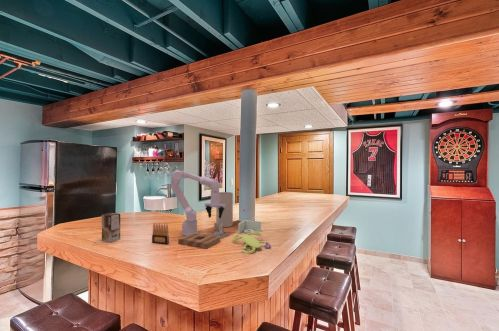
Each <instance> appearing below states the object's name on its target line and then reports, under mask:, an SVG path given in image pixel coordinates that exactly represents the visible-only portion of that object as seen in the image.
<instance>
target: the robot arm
mask: <svg viewBox="0 0 499 331" xmlns="http://www.w3.org/2000/svg"><path fill="white" fill-rule="evenodd" d="M170 178H171V179H170V180H171V181H170V188H171V190H172V191H173V194H174V195H175V197H176V198H177V201H178V202H179V204H180V206H181V208H182V209H183V211H184V213H185V215H186V220H185V219H184V221H183V222H182V223H181V224H182V225H181V226H182V227H181V233H180V234H181V236H187V235H189V234H192V233H198V234H201V233H200V232H198V219H197V212H196V211H195V210H194V209H193V208H192V206H191V205H190V203H189V202H188V200H187V198H186V196H185V195H184V192H183V191H182V189H181V187H180V182H181V180H182V179H190V180H194V181H197V182H199V184H200V185H202V186H206V187H208V188H209V187H210V203H205V204H204V207H205V210H206V212H207V215H208V218H209V219H210V218H211V217H212V209H213V208H216V207H220V208H218V209H219V218H221V216H222V213H223V210H224V208H225V204H219V192H220V186H221V184H220V182H219V181H218V180H217V179H215V178H211V177H208V175H205V176H204V175H202V176H199V175H196V174H193V173H190V172H188V171H184V170H183V171H182V170H180V169H177V170H175V171H173V173H172V175H171V177H170Z"/></svg>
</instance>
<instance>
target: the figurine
mask: <svg viewBox="0 0 499 331" xmlns="http://www.w3.org/2000/svg"><path fill="white" fill-rule="evenodd" d="M252 235H254V236H257V237H258V236H259V237H260V236H262V231H261V232H258V231H254V232H251V233H248V234H242V235H240V236H239V234H236V235H234V237H233V238H232V239H231V242H237V241H238V240H240V239H241V240H242V241H243V242H244V243H245V244H244V245H243V247H241V252H242V253H243V254H245V255H250V254H252V253H254V252H255V251H256V249H258V250H259V249H260V248H261V246H262V245H261V244H265V245H264V247H265V248H267V249H269V248H270V247H271V246H272V245H271V244H270V243H269V242H267V241H264V240H263V241H261V240H260V241H259V240H258V239H257V238H256V237H254V236H252ZM247 246H249V247H247ZM249 249H251V250H250V251H245V250H249Z"/></svg>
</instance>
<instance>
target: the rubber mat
mask: <svg viewBox="0 0 499 331" xmlns="http://www.w3.org/2000/svg"><path fill="white" fill-rule="evenodd" d="M210 235H211V236H216V235H214V232H213V233H211V234H210ZM227 236H230V233H227V232H223V235H221V236H217V237H220V240H221V239H223V238H226V237H227Z"/></svg>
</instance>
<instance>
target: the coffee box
mask: <svg viewBox="0 0 499 331" xmlns="http://www.w3.org/2000/svg"><path fill="white" fill-rule="evenodd" d="M117 240H118V241H121V213H117V212H116V213H114V212H107V213H105V214H104V213H103V214H101V241H103V242H107V241H108V243H114V242H117Z"/></svg>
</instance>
